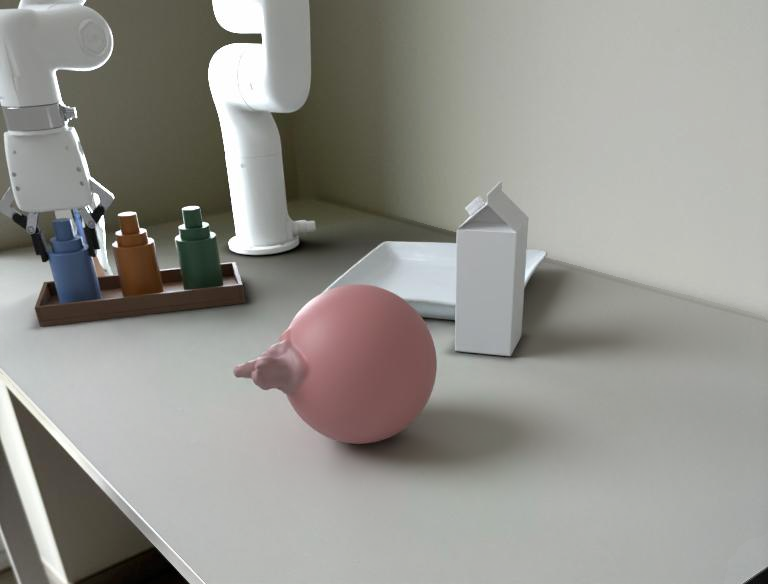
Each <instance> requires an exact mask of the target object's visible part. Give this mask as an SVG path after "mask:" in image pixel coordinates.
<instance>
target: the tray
mask: <svg viewBox="0 0 768 584" xmlns="http://www.w3.org/2000/svg"><path fill="white" fill-rule="evenodd" d="M220 265H221V271H222V278H223V285H224V286H216V287H207V288H198V289H189V290H184V287H183V281H182V276H181V270H180V267H173V268H164V269H160V274H161V280H162V285H163V290H164V292H162V293H153V294H144V295H135V296H126V297H123V294H122V289H121V285H120V280H119V276H118V273H117V274H113V275H106V276H97V278H98V282H99V286H100V291H101V295H102V299H98V300H89V301H80V302H71V303H62V304H60V301H59V297H58V294H57V290H56V286H55V282H54V280H49V281H43V284H42V286H41V289H40V292H39V294H38V297H37V300H36V302H35V305H34V311H35V314H36V318H37V322H38V325H39V327H49V326H58V325H67V324H75V323H85V322H92V321H100V320H102V321H103V320H110V319H119V318H127V317H136V316H144V315H154V314H163V313H171V312H179V311H187V310H188V311H189V310H196V309H197V310H198V309H205V308H214V307H223V306H232V305H241V304H246V299H245V291H244V284H243V280H242V278H241V275H240V271H239V268H238V265H237V262H236V261H230V262H220Z"/></svg>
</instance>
